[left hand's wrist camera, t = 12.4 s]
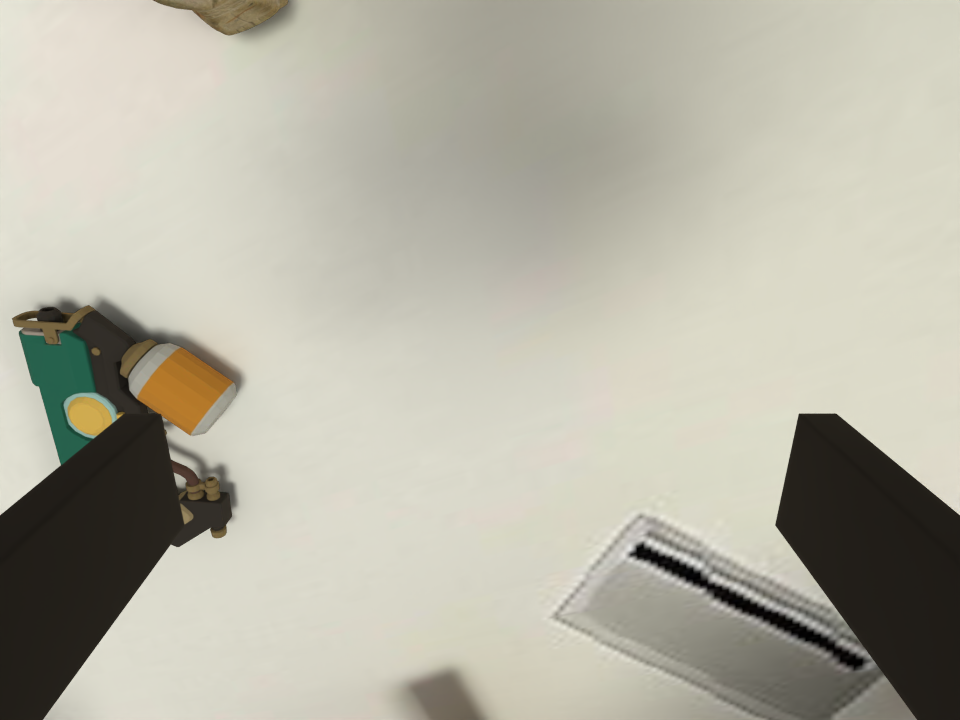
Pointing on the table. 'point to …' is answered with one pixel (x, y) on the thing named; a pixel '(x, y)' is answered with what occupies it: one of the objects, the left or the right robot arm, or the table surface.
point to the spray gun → (125, 394)
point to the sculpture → (230, 12)
